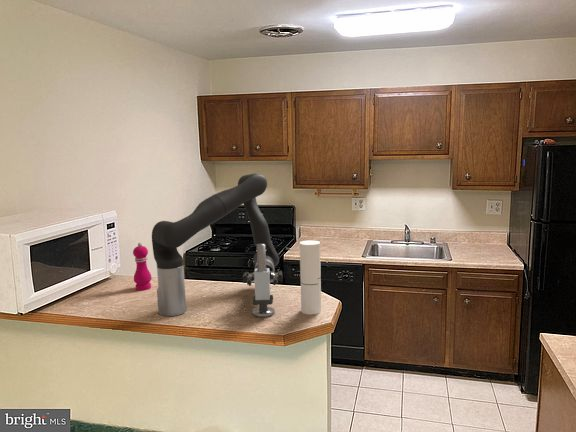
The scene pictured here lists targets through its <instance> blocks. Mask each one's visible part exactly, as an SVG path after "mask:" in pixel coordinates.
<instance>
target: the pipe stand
mask: <svg viewBox="0 0 576 432" xmlns="http://www.w3.org/2000/svg"><path fill="white" fill-rule="evenodd" d="M266 251H267V250H266V247H265V244H257V246H256V253H257V266H258V272H266ZM275 313H276V311H275V308H274V307H271V306H269V305H258V307H255V308H253V309H252V311H251V314H252V316H253V317H256V318H262V319H263V318H264V319H265V318H270V317H272V316H274V315H275Z"/></svg>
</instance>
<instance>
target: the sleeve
mask: <svg viewBox="0 0 576 432" xmlns="http://www.w3.org/2000/svg"><path fill="white" fill-rule="evenodd" d="M254 269H255V272H254V271H253V272H254V277H255V283H254V296H255V300H270V295H271V282H270V272H269V268H266V272H258V268H255V267H254Z"/></svg>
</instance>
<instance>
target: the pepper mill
mask: <svg viewBox="0 0 576 432" xmlns="http://www.w3.org/2000/svg"><path fill="white" fill-rule="evenodd" d="M132 254H133V257H134V262H135V263H136V269H135V271H134V276H133V282H134V283H135V290H136V291H147V290H151V288H152V283H151V281H152V274H151V272H150V270H149V269H148V263H147V261H148V254H149V250H148V248H147V247H146V246H143V243H142V242H138V243H137V246H136V247H134V248H133V250H132Z"/></svg>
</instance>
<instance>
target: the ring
mask: <svg viewBox="0 0 576 432" xmlns="http://www.w3.org/2000/svg"><path fill="white" fill-rule="evenodd" d="M273 303H274V295H273V294H270V300H255V295H253V300H252V305H254V306H259V305H268V306H271V305H272V304H273Z"/></svg>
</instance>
